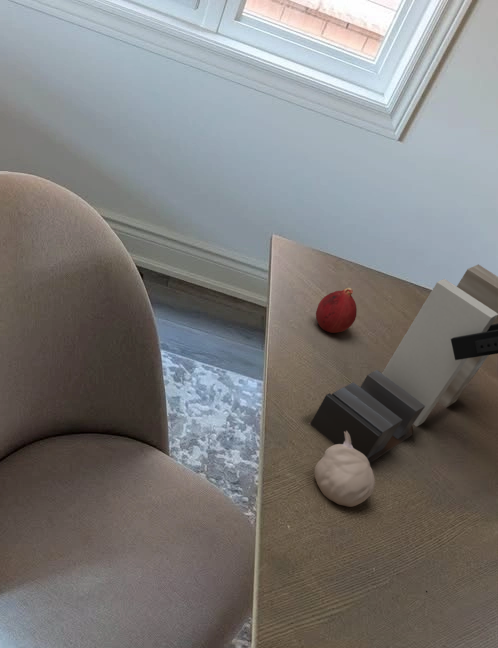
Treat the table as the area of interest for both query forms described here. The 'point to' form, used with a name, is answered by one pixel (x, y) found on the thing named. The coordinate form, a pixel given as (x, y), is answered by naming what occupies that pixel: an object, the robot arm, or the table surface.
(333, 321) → the red pomegranate
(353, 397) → the book rack
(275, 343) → the table surface
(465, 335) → the robot arm
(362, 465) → the garlic bulb
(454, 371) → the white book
